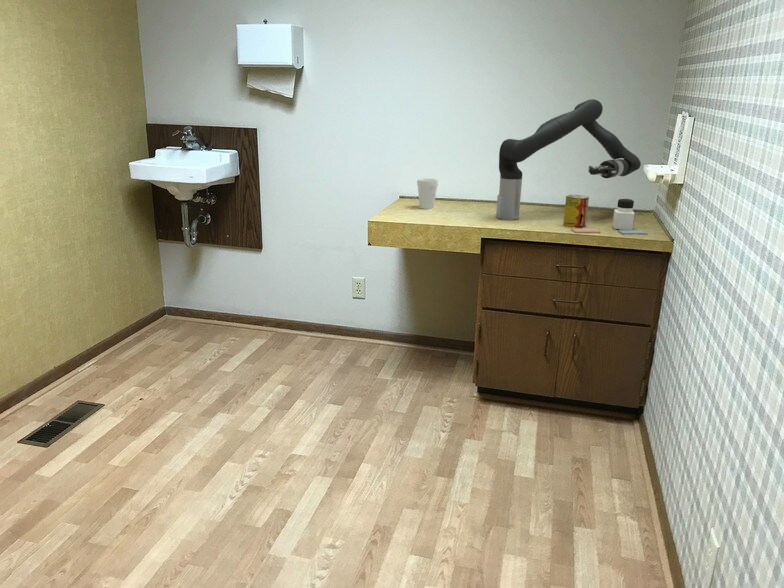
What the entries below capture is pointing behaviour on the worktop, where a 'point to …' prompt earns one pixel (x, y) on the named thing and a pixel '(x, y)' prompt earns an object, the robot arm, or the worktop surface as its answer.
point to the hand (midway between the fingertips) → (592, 172)
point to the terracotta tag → (585, 230)
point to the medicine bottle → (624, 215)
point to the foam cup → (427, 192)
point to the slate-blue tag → (632, 232)
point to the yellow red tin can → (576, 211)
